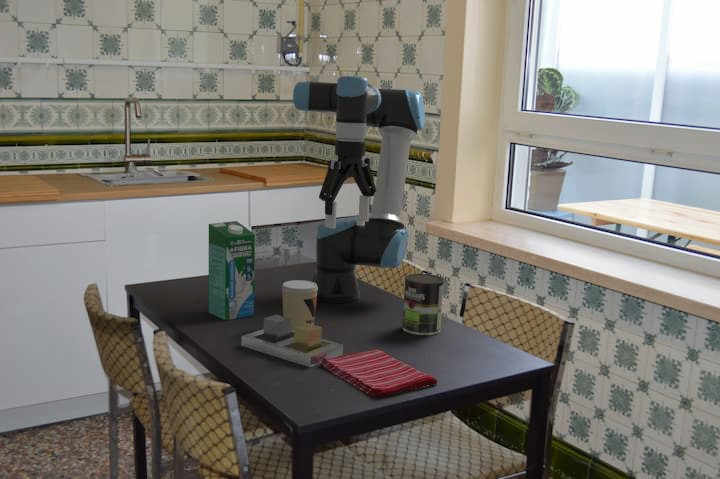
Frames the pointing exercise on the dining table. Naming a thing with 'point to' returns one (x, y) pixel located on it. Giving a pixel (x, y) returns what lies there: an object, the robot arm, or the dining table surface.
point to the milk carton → (231, 270)
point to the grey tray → (292, 349)
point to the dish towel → (377, 373)
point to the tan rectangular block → (307, 338)
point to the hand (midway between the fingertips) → (347, 224)
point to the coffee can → (422, 304)
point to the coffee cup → (299, 302)
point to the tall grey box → (276, 328)
